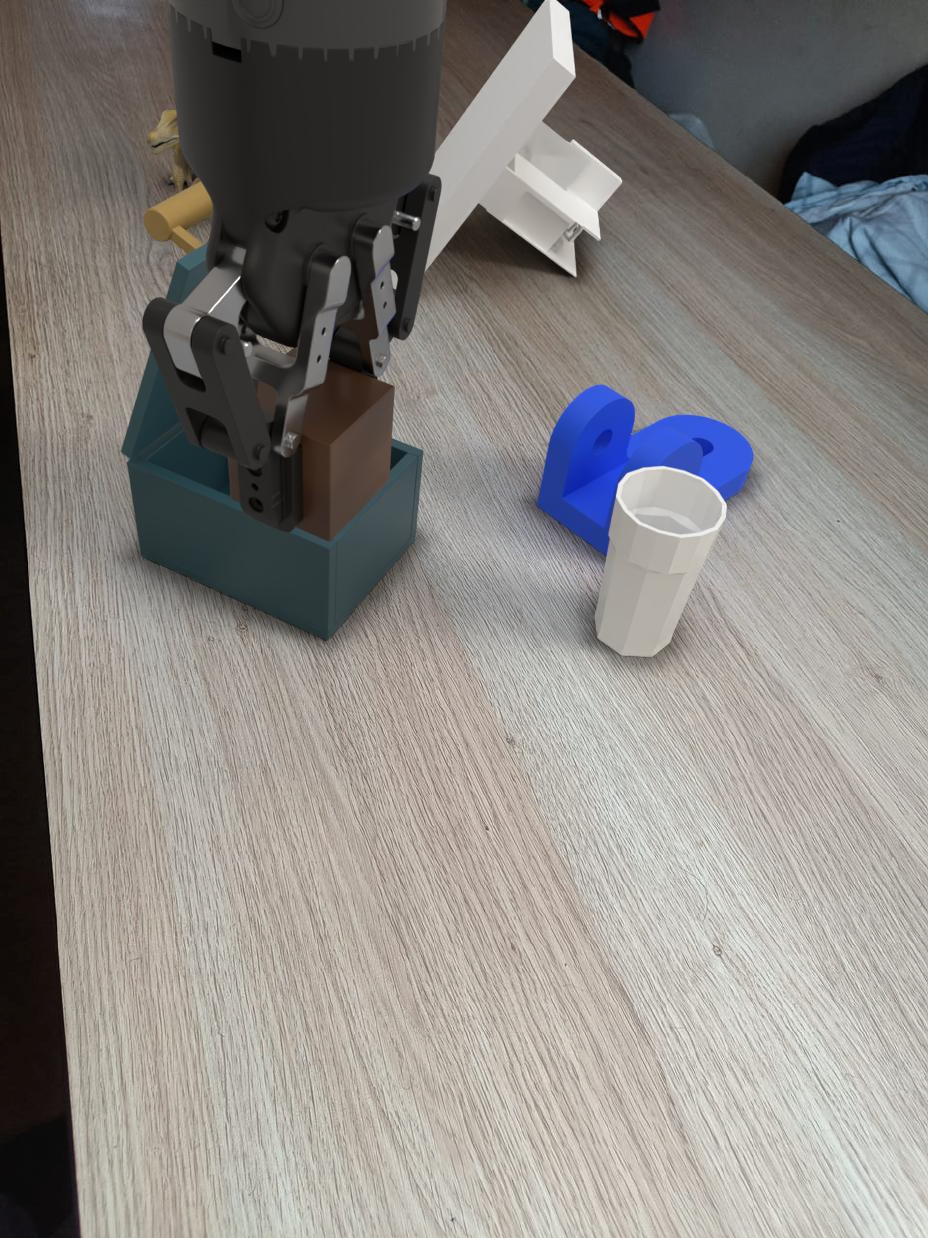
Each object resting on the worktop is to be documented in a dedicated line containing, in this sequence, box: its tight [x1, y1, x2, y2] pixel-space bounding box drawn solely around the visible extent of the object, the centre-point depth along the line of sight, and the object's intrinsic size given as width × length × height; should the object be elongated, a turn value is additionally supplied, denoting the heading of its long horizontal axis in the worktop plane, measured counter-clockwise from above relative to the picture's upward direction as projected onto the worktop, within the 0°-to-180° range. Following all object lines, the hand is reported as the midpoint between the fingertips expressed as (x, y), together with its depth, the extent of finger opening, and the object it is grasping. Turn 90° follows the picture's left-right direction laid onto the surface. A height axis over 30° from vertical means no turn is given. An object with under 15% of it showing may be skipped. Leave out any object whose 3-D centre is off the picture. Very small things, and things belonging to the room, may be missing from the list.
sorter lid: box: [120, 181, 258, 460], centre depth 63 cm, size 15×12×5 cm
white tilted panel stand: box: [391, 0, 623, 290], centre depth 102 cm, size 23×16×24 cm
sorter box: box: [126, 422, 424, 641], centre depth 70 cm, size 15×12×8 cm
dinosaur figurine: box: [145, 108, 200, 196], centre depth 106 cm, size 8×26×13 cm, turn 5°
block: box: [228, 348, 396, 542], centre depth 39 cm, size 4×4×4 cm
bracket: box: [536, 384, 754, 557], centre depth 79 cm, size 18×8×9 cm, turn 133°
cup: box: [594, 466, 728, 658], centre depth 67 cm, size 7×7×11 cm
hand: (311, 483), depth 41 cm, fingers closed on block, 4 cm apart
